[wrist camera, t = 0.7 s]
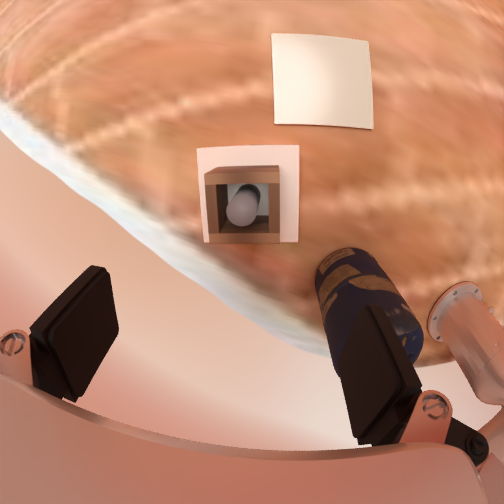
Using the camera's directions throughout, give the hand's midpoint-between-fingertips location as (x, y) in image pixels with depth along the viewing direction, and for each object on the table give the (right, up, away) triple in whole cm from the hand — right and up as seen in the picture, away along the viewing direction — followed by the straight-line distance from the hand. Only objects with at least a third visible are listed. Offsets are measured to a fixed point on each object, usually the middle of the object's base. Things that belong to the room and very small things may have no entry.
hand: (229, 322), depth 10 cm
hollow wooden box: (0, +9, +20) cm, 22 cm away
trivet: (+9, +23, +18) cm, 31 cm away
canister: (+14, -1, +28) cm, 31 cm away
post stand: (+1, +10, +24) cm, 26 cm away
